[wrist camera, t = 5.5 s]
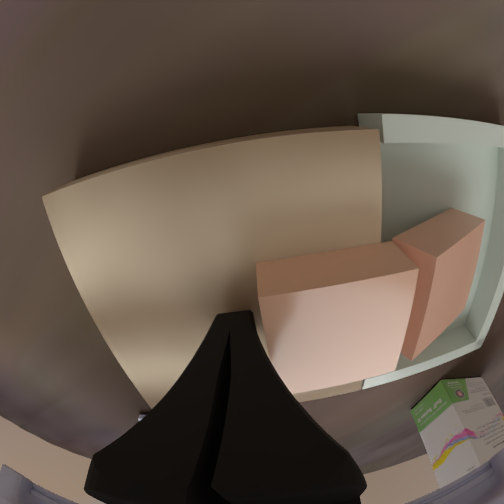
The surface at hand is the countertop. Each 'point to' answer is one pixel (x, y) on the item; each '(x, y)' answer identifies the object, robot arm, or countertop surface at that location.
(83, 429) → the countertop surface
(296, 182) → the beige square slab
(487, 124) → the tray
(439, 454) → the ink box
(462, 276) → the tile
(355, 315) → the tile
